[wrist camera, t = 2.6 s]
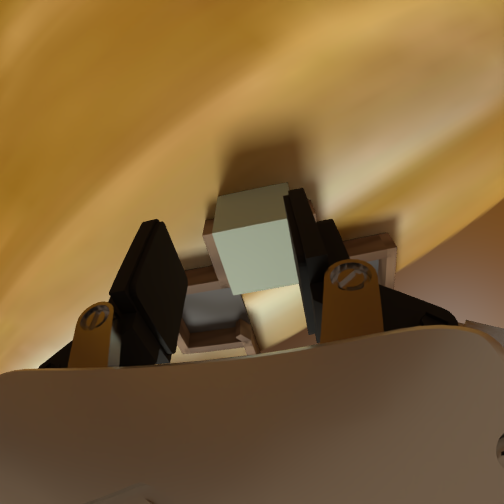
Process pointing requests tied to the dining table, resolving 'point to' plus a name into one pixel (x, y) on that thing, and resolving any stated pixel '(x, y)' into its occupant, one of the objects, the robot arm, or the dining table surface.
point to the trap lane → (232, 307)
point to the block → (255, 239)
